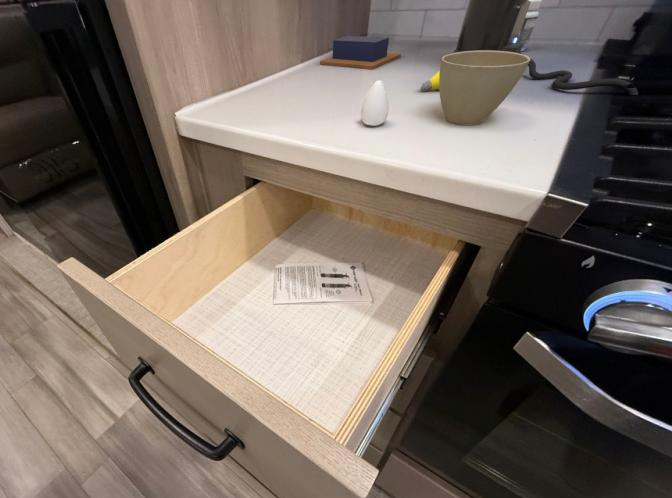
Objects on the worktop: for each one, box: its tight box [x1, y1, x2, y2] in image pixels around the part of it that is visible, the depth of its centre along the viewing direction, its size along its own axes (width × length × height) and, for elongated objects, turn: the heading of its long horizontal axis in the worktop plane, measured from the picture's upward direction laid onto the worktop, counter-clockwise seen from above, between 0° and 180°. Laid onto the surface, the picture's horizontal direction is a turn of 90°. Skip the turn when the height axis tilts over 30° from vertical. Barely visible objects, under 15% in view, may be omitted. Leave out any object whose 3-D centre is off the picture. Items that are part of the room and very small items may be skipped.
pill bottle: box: [516, 0, 543, 53], centre depth 69 cm, size 5×5×8 cm
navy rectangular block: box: [331, 35, 390, 62], centre depth 75 cm, size 11×6×4 cm, turn 49°
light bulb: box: [420, 69, 440, 93], centre depth 55 cm, size 3×6×4 cm, turn 95°
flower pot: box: [439, 50, 531, 126], centre depth 43 cm, size 10×10×7 cm
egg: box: [360, 79, 390, 127], centre depth 45 cm, size 4×4×6 cm
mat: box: [319, 52, 402, 70], centre depth 76 cm, size 14×13×1 cm
